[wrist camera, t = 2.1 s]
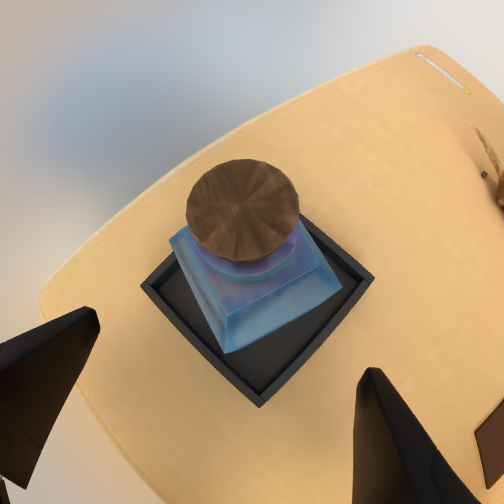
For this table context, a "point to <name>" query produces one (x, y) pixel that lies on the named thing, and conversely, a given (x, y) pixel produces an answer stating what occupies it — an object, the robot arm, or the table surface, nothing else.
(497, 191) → the spiral seashell
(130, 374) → the table surface
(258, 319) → the perfume bottle
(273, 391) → the tray
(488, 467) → the mat
